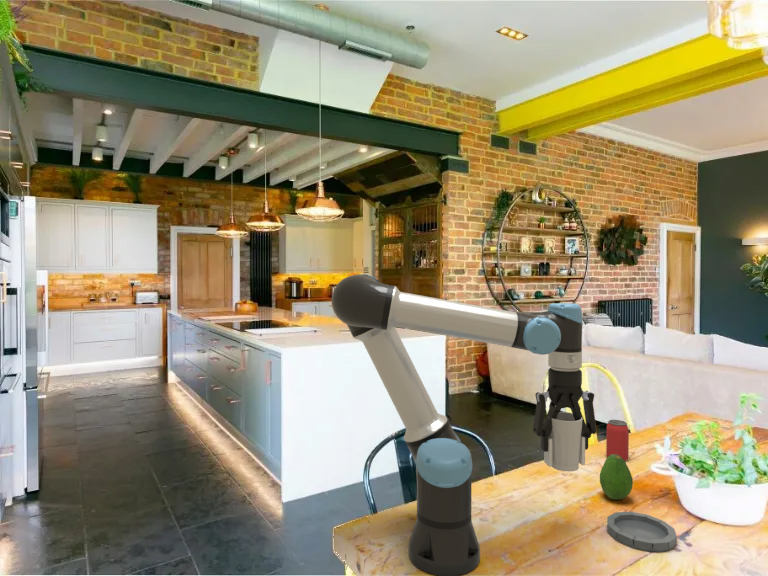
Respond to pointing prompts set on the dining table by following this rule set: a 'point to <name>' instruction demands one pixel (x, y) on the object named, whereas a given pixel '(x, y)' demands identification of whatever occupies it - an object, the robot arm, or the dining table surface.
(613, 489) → the fruit
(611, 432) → the beer can
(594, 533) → the dining table surface
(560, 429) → the cup
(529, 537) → the dining table surface
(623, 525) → the saucer
